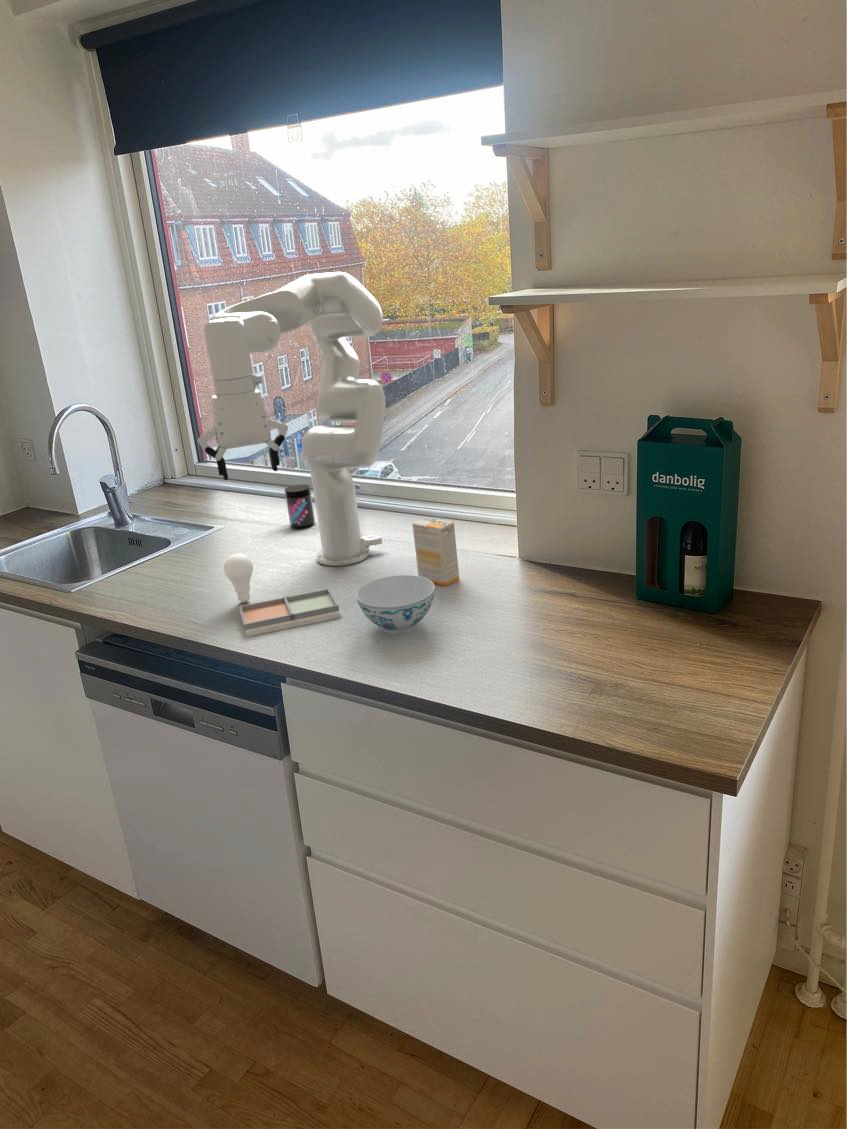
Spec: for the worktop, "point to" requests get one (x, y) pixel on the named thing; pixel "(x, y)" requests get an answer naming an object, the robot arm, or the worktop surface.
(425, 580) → the chinaware
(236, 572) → the lightbulb
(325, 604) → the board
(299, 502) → the supplement container
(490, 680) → the worktop surface
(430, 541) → the supplement box
